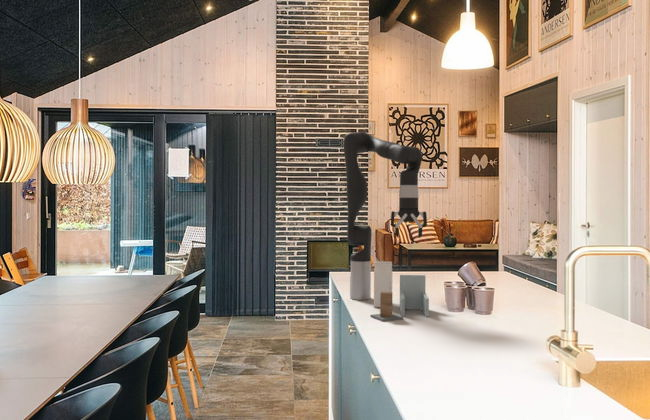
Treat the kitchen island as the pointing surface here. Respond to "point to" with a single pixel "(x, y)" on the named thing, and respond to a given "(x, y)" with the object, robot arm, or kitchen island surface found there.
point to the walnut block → (385, 304)
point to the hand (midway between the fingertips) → (408, 237)
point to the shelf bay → (413, 294)
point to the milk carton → (382, 279)
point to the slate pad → (394, 317)
